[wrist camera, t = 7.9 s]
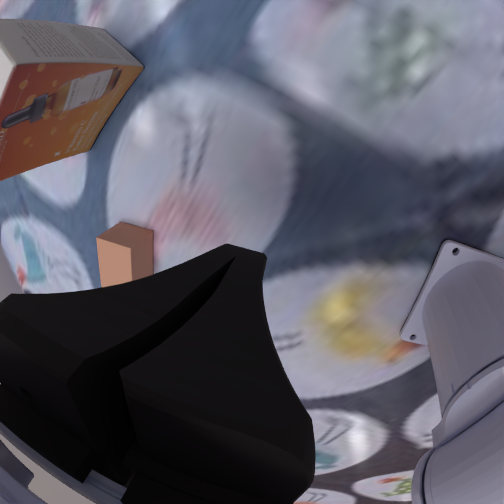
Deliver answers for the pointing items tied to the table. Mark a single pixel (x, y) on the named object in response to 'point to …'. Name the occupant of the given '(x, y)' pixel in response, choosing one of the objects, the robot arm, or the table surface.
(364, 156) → the table surface
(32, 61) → the small box
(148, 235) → the terracotta batten
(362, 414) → the table surface
